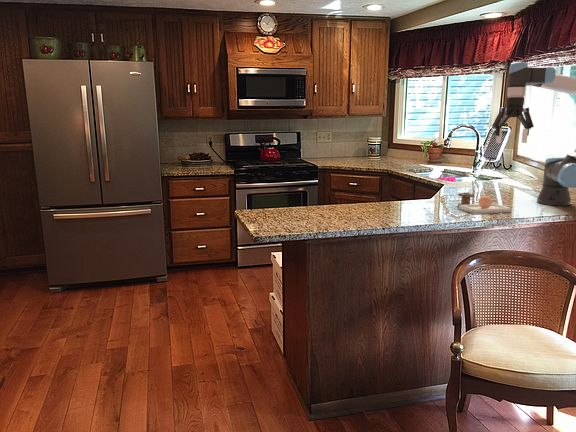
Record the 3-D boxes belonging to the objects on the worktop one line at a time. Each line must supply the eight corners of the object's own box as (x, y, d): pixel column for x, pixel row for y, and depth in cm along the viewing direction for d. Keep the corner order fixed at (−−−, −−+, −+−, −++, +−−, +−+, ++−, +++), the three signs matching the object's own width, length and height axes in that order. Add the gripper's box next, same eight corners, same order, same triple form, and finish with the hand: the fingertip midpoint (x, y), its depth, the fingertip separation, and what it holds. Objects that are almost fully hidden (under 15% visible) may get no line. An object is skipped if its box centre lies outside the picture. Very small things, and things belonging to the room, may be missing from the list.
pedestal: (467, 204, 244) (468, 192, 243) (475, 207, 237) (476, 194, 236) (455, 205, 242) (455, 192, 241) (462, 207, 236) (463, 195, 234)
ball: (487, 206, 233) (487, 194, 231) (494, 208, 227) (494, 196, 225) (475, 208, 232) (475, 195, 230) (482, 210, 226) (483, 197, 224)
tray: (495, 207, 237) (495, 203, 236) (510, 212, 225) (511, 208, 225) (459, 208, 233) (459, 204, 233) (472, 213, 222) (473, 209, 221)
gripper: (534, 97, 235) (529, 142, 239) (486, 96, 230) (482, 142, 234) (544, 96, 227) (539, 143, 232) (496, 96, 223) (492, 143, 227)
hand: (511, 142), depth 233 cm, fingers open, 13 cm apart
